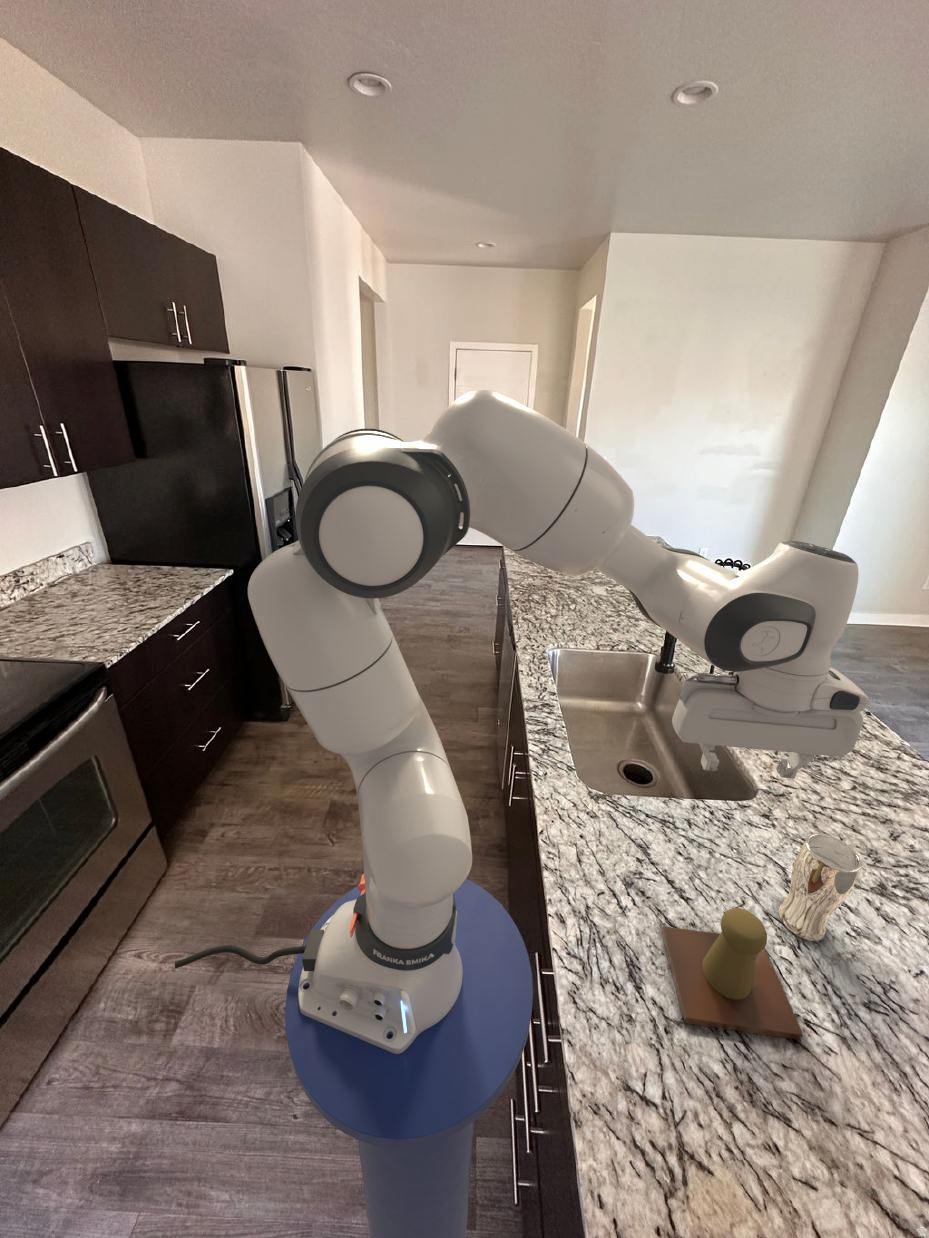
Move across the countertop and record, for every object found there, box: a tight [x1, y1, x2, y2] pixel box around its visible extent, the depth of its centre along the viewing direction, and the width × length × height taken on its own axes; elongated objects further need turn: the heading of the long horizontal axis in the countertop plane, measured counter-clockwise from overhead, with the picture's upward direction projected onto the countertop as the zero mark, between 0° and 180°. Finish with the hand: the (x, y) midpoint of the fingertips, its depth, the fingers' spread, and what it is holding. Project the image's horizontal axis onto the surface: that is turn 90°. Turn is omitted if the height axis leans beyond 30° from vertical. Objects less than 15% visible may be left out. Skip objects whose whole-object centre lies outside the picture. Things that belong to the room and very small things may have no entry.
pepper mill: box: [702, 907, 768, 1000], centre depth 64 cm, size 6×6×11 cm
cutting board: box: [660, 925, 804, 1041], centre depth 67 cm, size 14×12×1 cm
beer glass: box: [778, 832, 863, 942], centre depth 72 cm, size 7×7×15 cm
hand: (746, 771), depth 63 cm, fingers open, 8 cm apart
